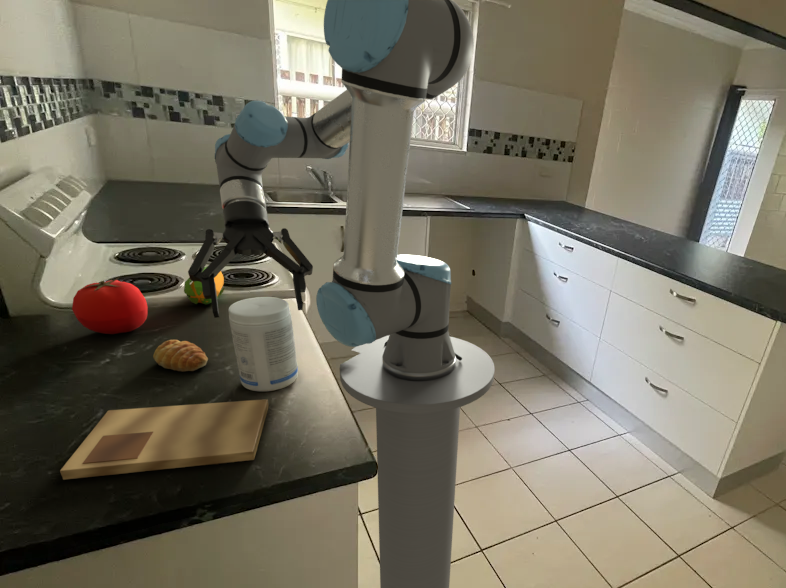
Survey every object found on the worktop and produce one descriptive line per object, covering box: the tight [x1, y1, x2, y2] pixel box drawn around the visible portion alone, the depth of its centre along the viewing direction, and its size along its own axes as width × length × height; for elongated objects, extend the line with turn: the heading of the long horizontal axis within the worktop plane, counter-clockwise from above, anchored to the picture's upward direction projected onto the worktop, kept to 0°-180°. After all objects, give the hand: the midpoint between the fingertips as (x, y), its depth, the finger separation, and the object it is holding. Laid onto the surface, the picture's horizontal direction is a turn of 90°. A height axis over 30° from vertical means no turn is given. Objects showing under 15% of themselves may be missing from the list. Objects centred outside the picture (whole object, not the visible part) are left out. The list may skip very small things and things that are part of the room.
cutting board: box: [59, 398, 270, 481], centre depth 69 cm, size 22×14×2 cm, turn 107°
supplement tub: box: [228, 296, 299, 393], centre depth 84 cm, size 10×10×15 cm
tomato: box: [71, 275, 149, 335], centre depth 96 cm, size 12×12×11 cm
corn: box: [183, 266, 225, 306], centre depth 119 cm, size 7×8×20 cm
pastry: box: [152, 339, 209, 372], centre depth 88 cm, size 9×7×4 cm
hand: (259, 310), depth 85 cm, fingers open, 13 cm apart
